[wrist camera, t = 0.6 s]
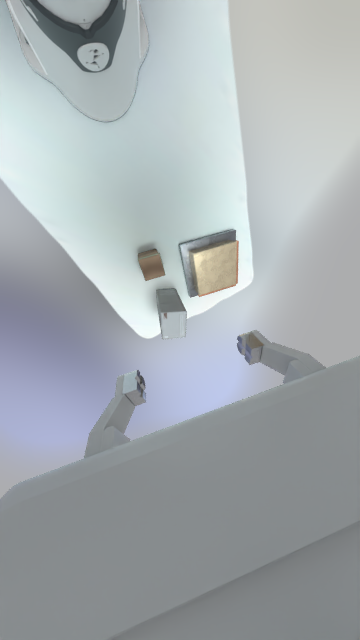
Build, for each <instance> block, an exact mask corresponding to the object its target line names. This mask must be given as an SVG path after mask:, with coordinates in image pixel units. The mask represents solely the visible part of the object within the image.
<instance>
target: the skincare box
mask: <svg viewBox="0 0 360 640" xmlns="http://www.w3.org/2000/svg"><path fill="white" fill-rule="evenodd" d="M156 291H157V306H158V314H159V321H160V327H161V334H162V339H163V340H164V339H172V338H182V337H185V335H186V318H187V311H186V309H185V307H184V305H183V303H182V301H181V299H180V297H179V295H178V293H177V291H176V289H162V290H156Z"/></svg>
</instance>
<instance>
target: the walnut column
mask: <svg viewBox="0 0 360 640" xmlns="http://www.w3.org/2000/svg"><path fill="white" fill-rule="evenodd" d="M138 262H139V264H140V267H141V270H142V273H143V275H144V278H145V281H147V280H151V279H154V278H157V277H161V276H164V275H165V272H164V268H163V264H162V261H161V257H160V253H158V251H157V250H156V249H153V250H149V251H146V252H142V253H139V254H138Z"/></svg>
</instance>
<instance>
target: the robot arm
mask: <svg viewBox="0 0 360 640" xmlns="http://www.w3.org/2000/svg"><path fill="white" fill-rule="evenodd" d="M6 3H7V6H8V9H9V12H10V15H11V18H12V21H13V24H14V27H15V30H16V33H17V36H18V39H19V42H20V45H21V48H22V51H23V54H24V56H25V58H26V60H27V62H28V63H29V65H30V66H31V68H32V69H33V70H34V71H35V72H36V73H38V74H39V75H40V76H42V77H43V78H45V79H46V80H48V81H50V82H51V83H53V84H54V85H55V86H56V87H57V88H58V89H59V90H60V91H61V93H62V94H63V95H64V96H65V97H66V98H67V99H68V101H69V102H70V103H71V104H72V105H73V106H74V107H76V108H77V109H78V110H79V111H80V112H82V113H83V114H85V115H86V116H88V117H90V118H92V119H95V120H98V121H103V122H109V121H114V120H116V119H118V118H120V117H121V116H122V115H124V114H125V112H126V111H127V110H128V109H129V107H130V105H131V103H132V101H133V98H134V95H135V91H136V86H137V79H138V73H139V69H140V66H141V65H142V63H143V61H144V59H145V57H146V55H147V52H148V48H149V36H148V31H147V27H146V24H145V20H144V16H143V13H142V9H141V6H140V2H139V0H6ZM27 41H28V43H29V45H30V46H29V45H28V44H27ZM237 340H238V341H239V342H238V343H237V347H238V350H239V352H240V353H241V354H242V355H244V356H245V360H246V361H247V362H248V363H249V365H251V364H254V363H258V362H260V363H262V364H264V365H266V366H268V367H270V368H272V369H274V370H275V371H277V372H279V373H281V374H283V375H285V377H284V380H283V383H284V384H283V385H280V386H277V387H275V388H272V389H269V390H267V391H264V392H261V393H259V394H256V395H254V396H251V397H248V398H246V399H242V400H240V401H237V402H235V403H232V404H229V405H226V406H224V407H221V408H219V409H216V410H213V411H210V412H208V413H205V414H202V415H200V416H197V417H194V418H192V419H189V420H186V421H183V422H181V423H178V424H176V425H173V426H170V427H167V428H165V429H162V430H159V431H157V432H154V433H151V434H149V435H146V436H143V437H141V438H138V439H136V440H133V441H130V439H129V438H128V437H126V436H125V435H124V432H125V430H126V427H127V425H128V423H129V420H130V418H131V416H132V413H133V411H134V409H135V406H137V405H140V404H142V403H145V402H146V393H145V392H144V390H145V381H144V378H143V377H142V376H141V375H140V372H139V370H136V371H133V372H130V373H127V374H124V375H121V376H118V378H117V383H116V392H115V397H114V398H113V399H112V400H111V402H110V403H109V405H108V406H107V408H106V409H105V411H104V412H103V414H102V415H101V417H100V418H99V420H98V421H97V423H96V424H95V426H94V427H93V429H92V430H91V432H90V434H89V438H88V443H87V447H86V451H85V456H84V459H82V460H79V461H76V462H74V463H71V464H68V465H66V466H63V467H60V468H58V469H55V470H52V471H50V472H47V473H44V474H42V475H39V476H36V477H33V478H31V479H28V480H25V481H23V482H20V483H18V484H16V485H14V486H13V487H12V488H11V489H9V491H8V492H7V493H6V494H5V495H4V496H3V497H2V498H1V499H0V640H360V356H358V357H355V358H353V359H350V360H347V361H344V362H342V363H339V364H337V365H334V366H331V367H328V368H326V367H325V366H323V365H322V364H321V363H320V362H318V361H317V360H316V359H314V358H313V357H312V356H311V355H309V354H307V353H304V352H300V351H297V350H294V349H292V348H288V347H285V346H282V345H279V344H276V343H271V342H270V341H268V340H267V339H266V338H265V337H264V336H263V335H262V334H261V333H259V332H258V331H257V330H254V331H251V332H248V333H245V334H242V335H239V336H238V338H237Z"/></svg>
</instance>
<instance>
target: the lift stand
mask: <svg viewBox="0 0 360 640" xmlns="http://www.w3.org/2000/svg"><path fill="white" fill-rule="evenodd" d="M238 243H239V241H237V240H236V230H233V229H232V230H228V231H225V232H221V233H217V234H214V235H210V236H207V237H203V238H200V239H196V240H193V241H189V242H185V243H182V244H179V248H180V253H181V258H182V263H183V269H184V274H185V279H186V284H187V289H188V294H189V296H190V298H191V297H194V296H197V295H198V296H199V297H201V296H204V295H207V294H210V293H214V292H217V291H220V290H223V289H226V288H230V287H233V286H236V284H237V283H238Z"/></svg>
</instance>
